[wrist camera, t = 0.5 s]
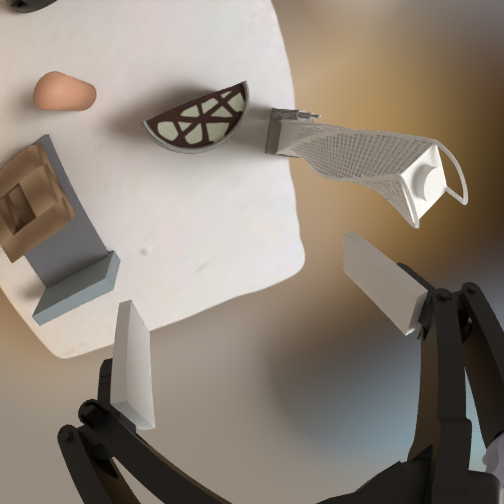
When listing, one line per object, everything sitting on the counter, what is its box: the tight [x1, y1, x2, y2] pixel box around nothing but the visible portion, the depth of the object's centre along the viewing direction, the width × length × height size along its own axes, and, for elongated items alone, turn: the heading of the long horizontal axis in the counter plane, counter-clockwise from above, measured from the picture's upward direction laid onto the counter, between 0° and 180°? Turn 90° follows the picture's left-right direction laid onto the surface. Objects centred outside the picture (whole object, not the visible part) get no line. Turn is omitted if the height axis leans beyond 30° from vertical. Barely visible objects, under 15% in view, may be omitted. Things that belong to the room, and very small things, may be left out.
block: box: [0, 143, 76, 263], centre depth 27 cm, size 12×12×5 cm
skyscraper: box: [265, 108, 468, 228], centre depth 27 cm, size 8×8×28 cm
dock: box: [24, 134, 120, 326], centre depth 29 cm, size 23×16×8 cm
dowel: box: [33, 71, 96, 111], centre depth 22 cm, size 4×4×12 cm
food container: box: [140, 81, 249, 154], centre depth 30 cm, size 12×6×10 cm, turn 109°
